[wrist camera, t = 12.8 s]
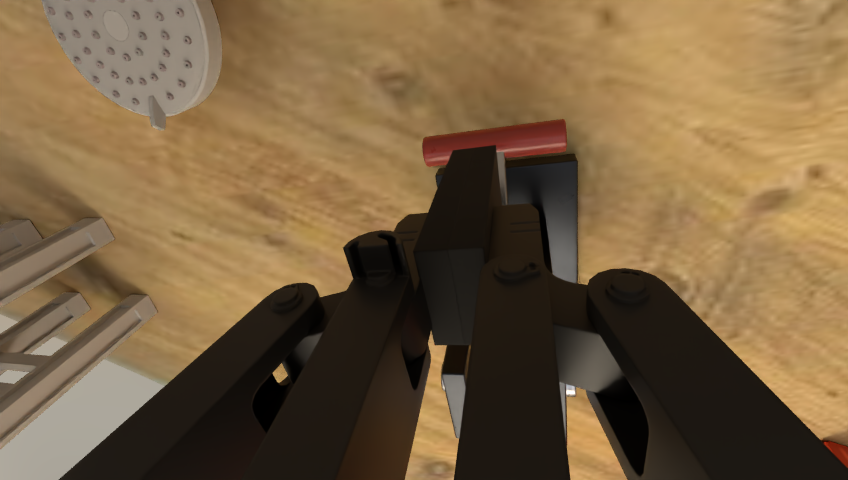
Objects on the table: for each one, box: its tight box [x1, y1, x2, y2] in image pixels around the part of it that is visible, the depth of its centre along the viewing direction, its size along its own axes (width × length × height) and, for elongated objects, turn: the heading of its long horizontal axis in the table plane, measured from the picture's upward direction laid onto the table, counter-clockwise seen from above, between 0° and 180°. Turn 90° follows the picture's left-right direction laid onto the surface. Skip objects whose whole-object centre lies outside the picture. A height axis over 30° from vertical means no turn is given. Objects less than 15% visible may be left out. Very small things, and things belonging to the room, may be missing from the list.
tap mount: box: [435, 154, 578, 446], centre depth 23 cm, size 12×9×15 cm
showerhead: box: [42, 0, 222, 130], centre depth 23 cm, size 9×7×10 cm
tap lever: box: [422, 119, 567, 205], centre depth 19 cm, size 13×6×2 cm, turn 12°
